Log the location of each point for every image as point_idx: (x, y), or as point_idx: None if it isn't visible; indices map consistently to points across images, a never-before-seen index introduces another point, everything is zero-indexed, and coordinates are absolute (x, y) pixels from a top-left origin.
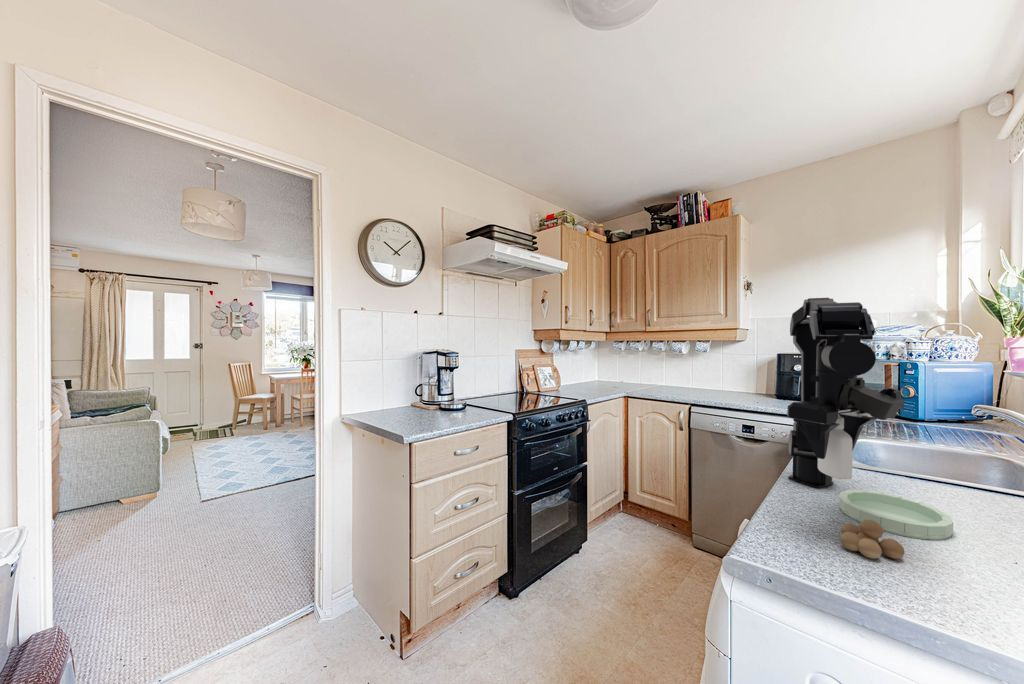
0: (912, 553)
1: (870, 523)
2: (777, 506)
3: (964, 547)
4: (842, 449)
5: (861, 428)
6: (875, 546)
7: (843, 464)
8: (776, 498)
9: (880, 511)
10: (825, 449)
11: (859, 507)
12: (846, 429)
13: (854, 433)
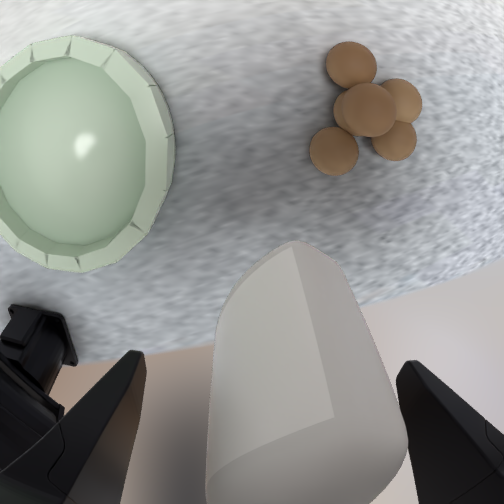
0: (265, 41)
1: (394, 111)
2: None
3: (96, 5)
4: (384, 375)
5: (25, 470)
6: (414, 89)
7: (352, 302)
8: None
9: (66, 178)
10: (448, 393)
11: (147, 200)
12: (102, 494)
13: (94, 459)
